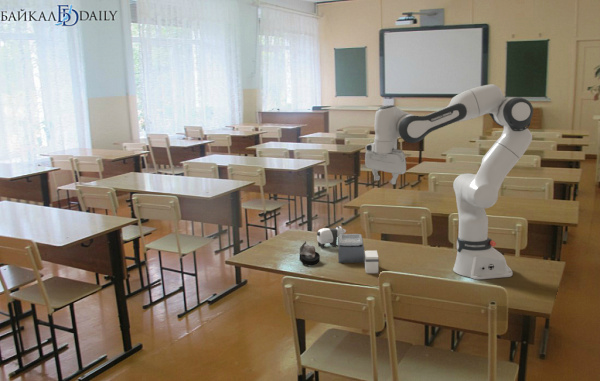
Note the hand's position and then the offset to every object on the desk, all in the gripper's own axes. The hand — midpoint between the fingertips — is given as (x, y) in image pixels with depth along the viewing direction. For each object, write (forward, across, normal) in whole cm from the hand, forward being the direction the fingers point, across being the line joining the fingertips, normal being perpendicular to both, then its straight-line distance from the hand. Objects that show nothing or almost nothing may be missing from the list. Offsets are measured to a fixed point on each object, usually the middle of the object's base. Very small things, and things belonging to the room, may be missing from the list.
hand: (384, 182), depth 214 cm
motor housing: (+37, +21, 0) cm, 43 cm away
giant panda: (+38, +40, -3) cm, 55 cm away
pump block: (+37, +4, +3) cm, 38 cm away
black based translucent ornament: (+38, +28, +17) cm, 50 cm away
